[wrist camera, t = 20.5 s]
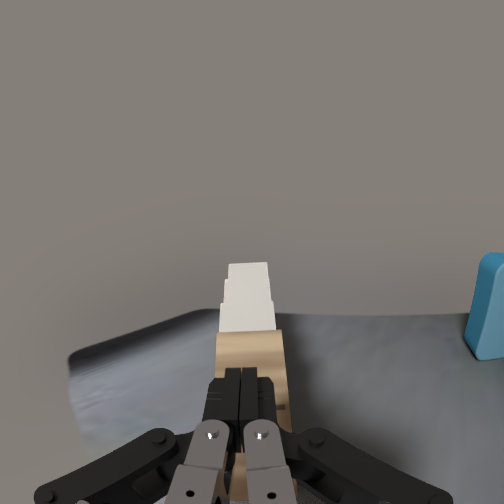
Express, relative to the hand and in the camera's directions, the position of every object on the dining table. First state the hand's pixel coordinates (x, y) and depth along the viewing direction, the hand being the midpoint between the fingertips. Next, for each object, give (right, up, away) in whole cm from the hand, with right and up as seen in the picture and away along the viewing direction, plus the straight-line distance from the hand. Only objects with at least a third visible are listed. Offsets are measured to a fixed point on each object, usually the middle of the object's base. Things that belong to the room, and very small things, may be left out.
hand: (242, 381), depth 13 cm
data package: (+32, -6, +12) cm, 35 cm away
